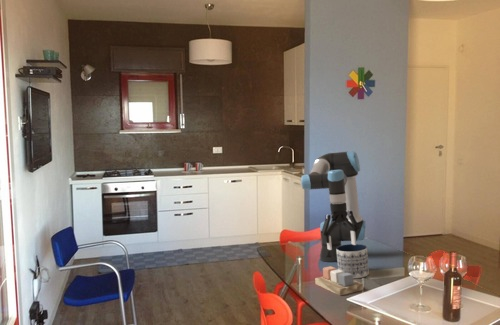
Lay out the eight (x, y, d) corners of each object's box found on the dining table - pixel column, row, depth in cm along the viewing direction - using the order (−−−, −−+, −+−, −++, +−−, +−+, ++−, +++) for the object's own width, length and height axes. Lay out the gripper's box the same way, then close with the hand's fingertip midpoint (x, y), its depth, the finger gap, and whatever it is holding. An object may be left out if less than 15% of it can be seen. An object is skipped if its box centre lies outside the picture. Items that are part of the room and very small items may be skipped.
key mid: (339, 278, 234) (338, 268, 234) (345, 281, 230) (344, 271, 230) (331, 280, 233) (330, 270, 232) (336, 283, 228) (335, 273, 228)
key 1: (331, 275, 241) (330, 266, 241) (337, 277, 236) (336, 268, 236) (323, 277, 239) (322, 267, 239) (328, 279, 234) (327, 270, 234)
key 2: (347, 282, 228) (346, 272, 228) (353, 284, 223) (352, 274, 223) (339, 284, 226) (338, 274, 226) (345, 286, 221) (344, 276, 221)
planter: (336, 278, 244) (333, 251, 244) (341, 270, 259) (338, 244, 259) (367, 279, 239) (365, 251, 238) (370, 270, 254) (368, 243, 253)
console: (337, 278, 244) (336, 273, 244) (363, 289, 224) (362, 283, 224) (315, 284, 239) (315, 278, 239) (340, 295, 219) (339, 289, 219)
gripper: (355, 198, 231) (359, 241, 232) (311, 205, 222) (315, 250, 223) (364, 199, 224) (368, 243, 225) (319, 207, 215) (323, 253, 216)
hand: (341, 247), depth 224 cm, fingers open, 13 cm apart
